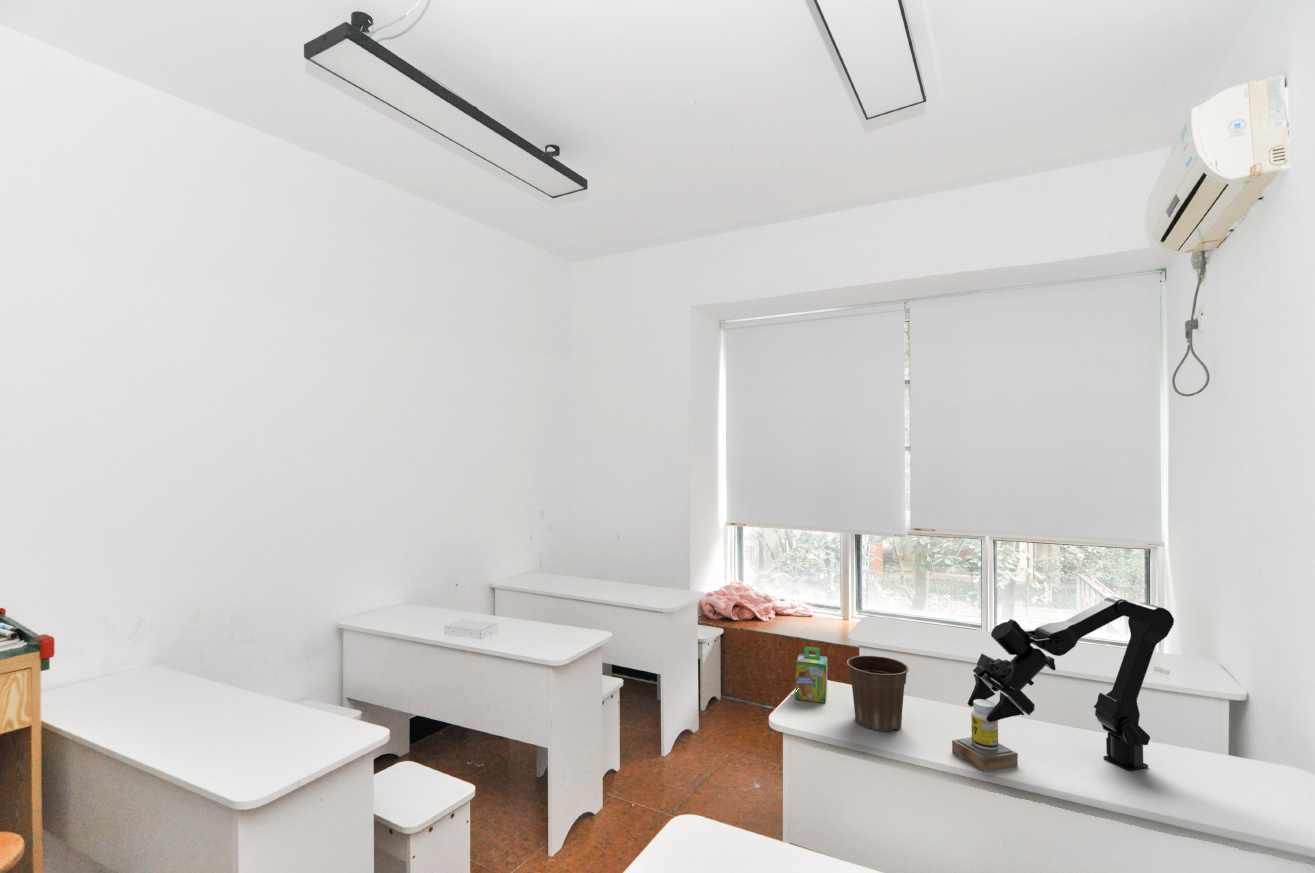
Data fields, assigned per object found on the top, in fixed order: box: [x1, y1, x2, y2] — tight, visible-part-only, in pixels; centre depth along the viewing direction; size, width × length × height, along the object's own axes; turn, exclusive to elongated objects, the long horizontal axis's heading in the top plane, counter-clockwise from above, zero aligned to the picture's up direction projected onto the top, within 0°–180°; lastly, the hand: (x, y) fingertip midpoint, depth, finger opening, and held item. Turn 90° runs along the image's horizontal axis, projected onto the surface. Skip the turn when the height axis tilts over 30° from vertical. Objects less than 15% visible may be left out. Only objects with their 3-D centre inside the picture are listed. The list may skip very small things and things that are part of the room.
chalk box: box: [794, 646, 829, 704], centre depth 188 cm, size 9×9×15 cm
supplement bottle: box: [970, 699, 999, 750], centre depth 149 cm, size 6×6×10 cm
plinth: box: [951, 736, 1019, 773], centre depth 149 cm, size 10×10×3 cm
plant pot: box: [846, 655, 909, 732], centre depth 169 cm, size 16×16×16 cm
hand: (978, 712), depth 149 cm, fingers open, 9 cm apart
